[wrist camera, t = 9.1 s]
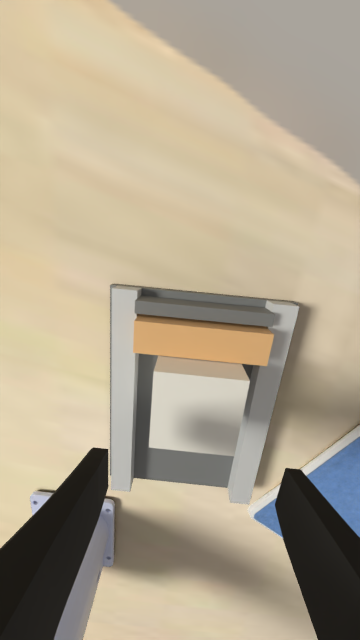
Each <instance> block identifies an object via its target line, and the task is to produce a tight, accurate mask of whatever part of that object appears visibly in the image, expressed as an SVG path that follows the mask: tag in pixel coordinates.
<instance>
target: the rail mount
mask: <svg viewBox="0 0 360 640" xmlns="http://www.w3.org/2000/svg"><path fill="white" fill-rule="evenodd" d="M298 311H299V306H298V303H296V302H294V301H284V300H274V299H264V298H253V297H243V296H233V295H223V294H212V293H202V292H192V291H182V290H172V289H161V288H151V287H141V286H131V285H120V284H111V285H110V475H111V490H118V491H128V492H130V490H131V486H132V482H133V478H140V479H150V480H159V481H169V482H178V483H187V484H197V485H206V486H216V487H225V488H228V494H229V500H230V502H231V503H240V504H249V503H250V499H251V495H252V491H253V487H254V483H255V479H256V475H257V471H258V467H259V464H260V460H261V456H262V452H263V448H264V444H265V440H266V436H267V432H268V428H269V424H270V420H271V417H272V413H273V409H274V405H275V401H276V397H277V393H278V389H279V385H280V381H281V377H282V373H283V369H284V366H285V362H286V358H287V354H288V350H289V346H290V342H291V338H292V334H293V330H294V326H295V322H296V319H297V315H298ZM139 314H145V315H155V316H165V317H175V318H185V319H196V320H206V321H216V322H226V323H236V324H246V325H256V326H265V327H266V328H267V329H269V330H270V331H271V332H272V333H273V334H274V338H273V342H272V347H271V351H270V355H269V360H268V364H267V366H259V365H249V364H242V366H243V368H244V370H245V372H246V374H247V376H248V378H249V380H250V384H249V389H248V393H247V398H246V403H245V408H244V413H243V417H242V422H241V427H240V432H239V437H238V441H237V446H236V451H235V456H225V455H216V454H206V453H197V452H187V451H177V450H168V449H158V448H149V435H150V420H151V404H152V388H153V373H154V368H155V365H156V362H157V358H158V355H150V354H140V353H133V339H134V320H135V319H136V318H137V317H138V316H139Z"/></svg>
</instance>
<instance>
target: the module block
mask: <svg viewBox="0 0 360 640" xmlns="http://www.w3.org/2000/svg"><path fill="white" fill-rule="evenodd" d="M249 384H250V380H249V378H248V376H247V374H246V372H245V370H244V368H243V366H242V364H240V363H230V362H220V361H210V360H200V359H190V358H180V357H170V356H160V355H158V358H157V362H156V365H155V368H154V373H153V388H152V404H151V420H150V435H149V448H158V449H168V450H177V451H187V452H197V453H206V454H216V455H225V456H235V451H236V446H237V441H238V437H239V432H240V427H241V422H242V417H243V413H244V408H245V403H246V398H247V393H248V389H249Z"/></svg>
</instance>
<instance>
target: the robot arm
mask: <svg viewBox="0 0 360 640" xmlns="http://www.w3.org/2000/svg"><path fill="white" fill-rule="evenodd" d="M107 489H108V449H101V448H92V449H91V450H90V451H89V452H88V453H87V455H86V456H85V457H84V458H83V460H82V461H81V462H80V463H79V464H78V466H77V467H76V468H75V469H74V470H73V472H72V473H71V474H70V475H69V476H68V477H67V479H66V480H65V481H64V482H63V483H62V484H61V485H60V487H59V488H58V489H57V490H56V491H55V492H54V493H50V492H40V491H35V492H33V493H32V495H31V496H30V501H31V508H32V515H33V516H32V517H31V518H30V519H29V520H28V521H27V522H26V523H25V524H24V525H23V526H22V527H21V528H20V529H19V530H18V531H17V532H16V533H15V534H14V535H13V536H12V537H11V538H10V539H9V540H8V541H7V542H6V543H5V544H4V545H3V546H2V547H1V548H0V640H83V637H84V633H85V630H86V626H87V622H88V619H89V615H90V612H91V608H92V604H93V601H94V597H95V593H96V590H97V586H98V583H99V579H100V575H101V572H102V568H103V566H106V567H110V566H112V565H113V562H114V510H115V503H114V501H113V500H112V499H106V498H105V496H106V492H107ZM275 508H276V513H277V517H278V521H279V525H280V529H281V533H282V536H283V540H284V543H285V546H286V549H287V552H288V555H289V558H290V560H291V563H292V566H293V569H294V572H295V575H296V578H297V581H298V584H299V586H300V589H301V592H302V595H303V598H304V601H305V604H306V606H307V609H308V612H309V615H310V618H311V621H312V624H313V626H314V629H315V632H316V635H317V638H318V640H360V537H359V536H358V535H357V534H356V533H355V532H354V531H353V530H352V528H351V527H350V526H349V525H348V524H347V523H346V522H345V520H344V519H343V518H342V517H341V516H340V515H339V514H338V512H337V511H336V510H335V509H334V508H333V507H332V505H331V504H330V503H329V502H328V501H327V500H326V498H325V497H324V496H323V495H322V494H321V493H320V491H319V490H318V489H317V488H316V487H315V485H314V484H313V483H312V482H311V481H310V480H309V478H308V477H307V476H306V475H305V474H304V473H303V472H302V470H299V469H290V468H286V469H285V472H284V475H283V479H282V482H281V485H280V488H279V492H278V495H277V498H276V502H275Z"/></svg>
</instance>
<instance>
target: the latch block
mask: <svg viewBox="0 0 360 640" xmlns="http://www.w3.org/2000/svg"><path fill="white" fill-rule="evenodd" d="M273 338H274V334H273V333H272V332H271V331H270V330H269V329H267V328H266V327H265V326H256V325H246V324H236V323H226V322H216V321H206V320H196V319H185V318H175V317H165V316H155V315H145V314H139V316H138V317H137V318H136V319H135V320H134V339H133V353H140V354H150V355H160V356H170V357H180V358H190V359H200V360H210V361H220V362H230V363H240V364H249V365H259V366H267V364H268V360H269V355H270V351H271V347H272V342H273Z"/></svg>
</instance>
